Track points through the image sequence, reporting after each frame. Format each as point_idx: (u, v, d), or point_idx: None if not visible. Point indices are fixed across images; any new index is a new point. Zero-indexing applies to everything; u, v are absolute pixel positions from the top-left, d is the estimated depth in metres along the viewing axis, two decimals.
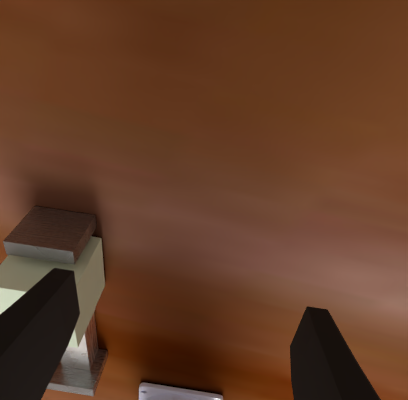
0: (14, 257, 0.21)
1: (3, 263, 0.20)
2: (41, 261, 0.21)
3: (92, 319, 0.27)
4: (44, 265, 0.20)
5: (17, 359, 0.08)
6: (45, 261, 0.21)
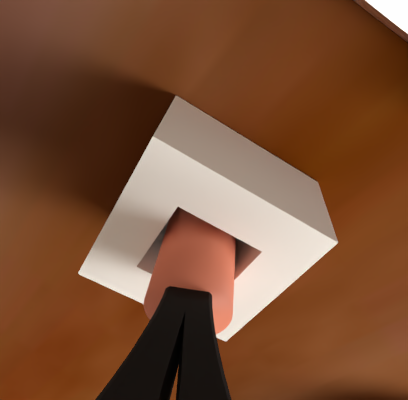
0: None
1: None
2: None
3: None
4: None
5: (165, 382, 0.08)
6: None
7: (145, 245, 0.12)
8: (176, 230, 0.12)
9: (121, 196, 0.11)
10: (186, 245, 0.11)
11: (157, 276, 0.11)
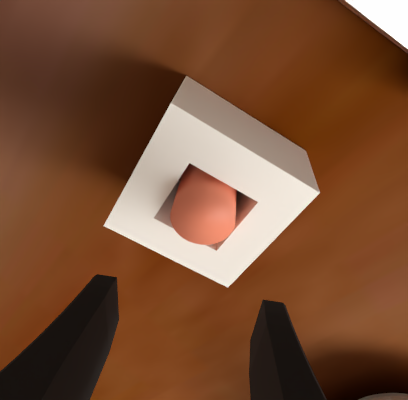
0: None
1: None
2: None
3: None
4: None
5: (71, 367, 0.08)
6: None
7: (161, 198, 0.15)
8: (192, 167, 0.16)
9: (143, 154, 0.14)
10: (200, 174, 0.15)
11: (180, 193, 0.15)
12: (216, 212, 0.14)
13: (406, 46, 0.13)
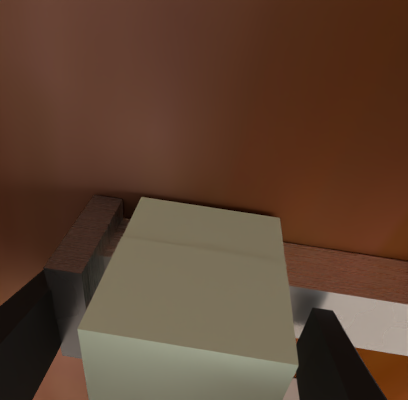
0: None
1: None
2: None
3: (390, 267, 0.12)
4: None
5: (8, 357, 0.08)
6: None
7: None
8: None
9: None
10: None
11: None
12: None
13: None
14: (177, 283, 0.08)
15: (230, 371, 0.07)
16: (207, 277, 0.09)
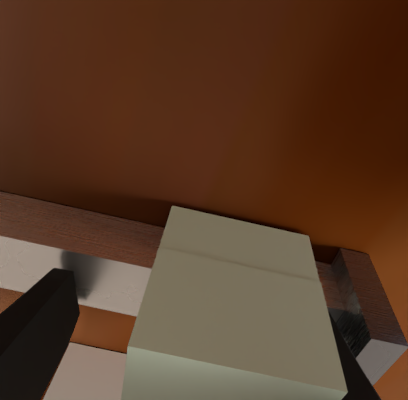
0: None
1: None
2: None
3: None
4: None
5: (17, 358, 0.08)
6: None
7: None
8: None
9: None
10: None
11: None
12: None
13: None
14: (220, 300, 0.08)
15: (276, 395, 0.07)
16: (248, 295, 0.09)
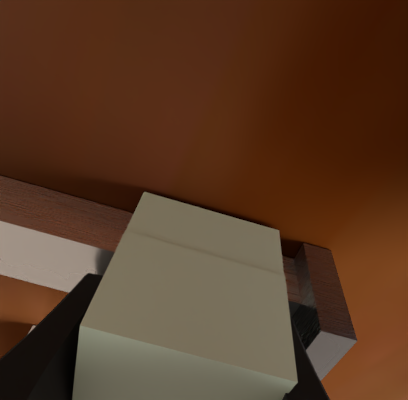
0: None
1: None
2: None
3: None
4: None
5: (61, 366, 0.08)
6: None
7: None
8: None
9: None
10: None
11: None
12: None
13: None
14: (181, 287, 0.08)
15: (228, 381, 0.07)
16: (210, 284, 0.09)
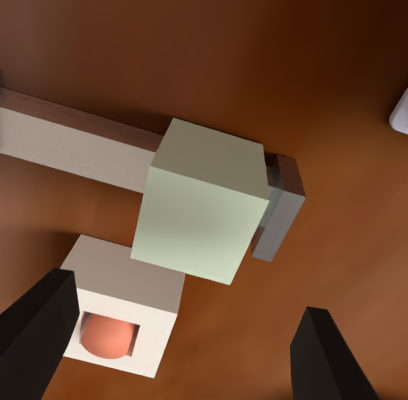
0: None
1: None
2: None
3: None
4: None
5: (17, 359, 0.08)
6: None
7: (76, 331, 0.21)
8: None
9: None
10: None
11: (84, 330, 0.20)
12: (110, 339, 0.20)
13: None
14: (202, 159, 0.14)
15: (231, 204, 0.13)
16: (219, 160, 0.14)
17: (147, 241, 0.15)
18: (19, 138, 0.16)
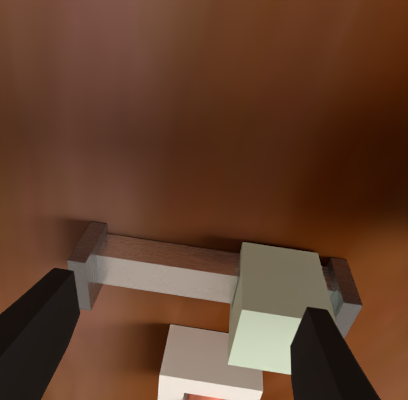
0: (230, 325, 0.21)
1: (229, 336, 0.21)
2: (234, 307, 0.20)
3: None
4: (235, 307, 0.20)
5: (17, 359, 0.08)
6: (235, 304, 0.20)
7: None
8: None
9: (158, 394, 0.25)
10: None
11: None
12: None
13: None
14: (276, 289, 0.18)
15: None
16: (289, 286, 0.18)
17: (241, 353, 0.19)
18: (128, 275, 0.21)
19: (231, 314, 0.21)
